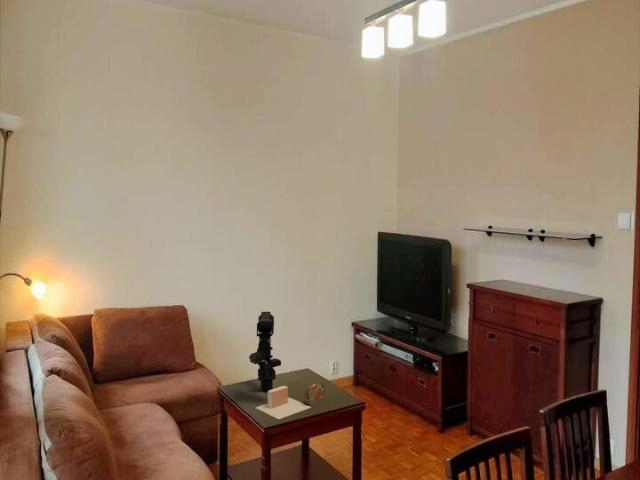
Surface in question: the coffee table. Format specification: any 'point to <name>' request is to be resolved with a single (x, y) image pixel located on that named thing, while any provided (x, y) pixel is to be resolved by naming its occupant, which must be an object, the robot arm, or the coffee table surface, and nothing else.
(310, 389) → the tin
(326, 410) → the coffee table surface
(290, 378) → the coffee table surface
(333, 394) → the coffee table surface
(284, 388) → the tile
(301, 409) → the felt mat
